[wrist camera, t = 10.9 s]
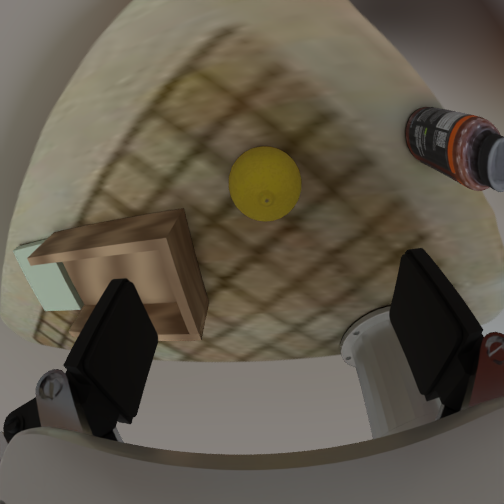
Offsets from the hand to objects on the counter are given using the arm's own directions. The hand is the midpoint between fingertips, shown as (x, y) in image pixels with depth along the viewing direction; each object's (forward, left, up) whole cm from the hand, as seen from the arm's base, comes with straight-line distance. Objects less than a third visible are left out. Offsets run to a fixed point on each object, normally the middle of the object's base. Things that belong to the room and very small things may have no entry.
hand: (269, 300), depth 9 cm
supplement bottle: (-12, -12, -18) cm, 25 cm away
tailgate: (+17, +23, -17) cm, 33 cm away
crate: (+9, +17, -18) cm, 26 cm away
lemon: (0, 0, -18) cm, 18 cm away
